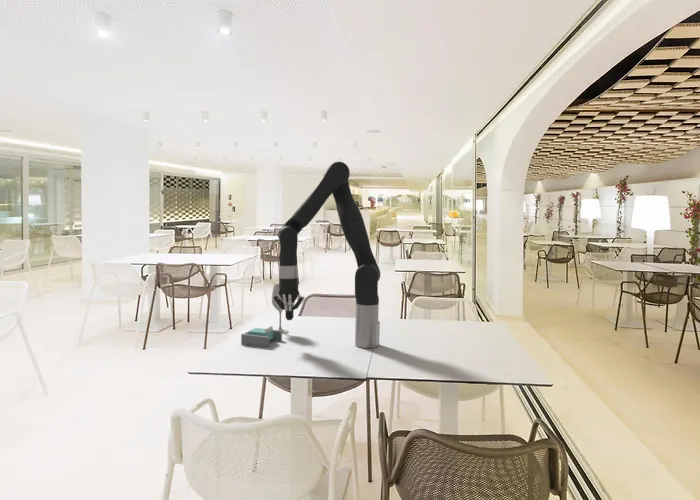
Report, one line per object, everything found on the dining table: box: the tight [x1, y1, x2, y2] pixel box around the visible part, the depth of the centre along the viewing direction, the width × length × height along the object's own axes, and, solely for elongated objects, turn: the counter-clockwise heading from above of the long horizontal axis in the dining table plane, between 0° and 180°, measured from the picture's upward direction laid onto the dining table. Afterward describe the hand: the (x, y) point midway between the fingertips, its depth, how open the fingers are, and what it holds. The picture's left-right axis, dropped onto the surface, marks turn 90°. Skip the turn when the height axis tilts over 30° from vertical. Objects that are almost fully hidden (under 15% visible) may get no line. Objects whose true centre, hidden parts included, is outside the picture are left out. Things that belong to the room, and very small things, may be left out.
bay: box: [240, 329, 283, 348], centre depth 198 cm, size 12×12×4 cm
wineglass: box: [271, 283, 289, 335], centre depth 214 cm, size 8×8×21 cm
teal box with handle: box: [248, 325, 274, 344], centre depth 198 cm, size 8×6×6 cm
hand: (289, 319), depth 193 cm, fingers closed
